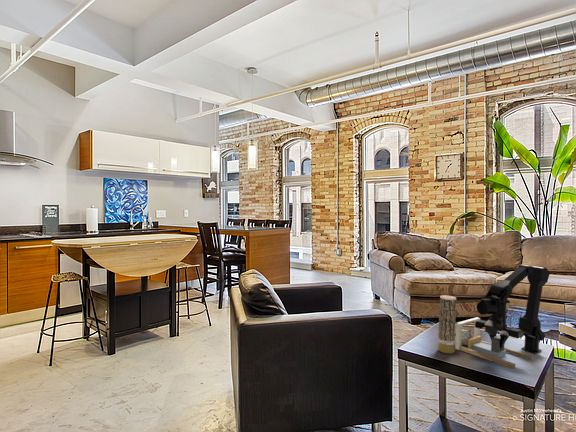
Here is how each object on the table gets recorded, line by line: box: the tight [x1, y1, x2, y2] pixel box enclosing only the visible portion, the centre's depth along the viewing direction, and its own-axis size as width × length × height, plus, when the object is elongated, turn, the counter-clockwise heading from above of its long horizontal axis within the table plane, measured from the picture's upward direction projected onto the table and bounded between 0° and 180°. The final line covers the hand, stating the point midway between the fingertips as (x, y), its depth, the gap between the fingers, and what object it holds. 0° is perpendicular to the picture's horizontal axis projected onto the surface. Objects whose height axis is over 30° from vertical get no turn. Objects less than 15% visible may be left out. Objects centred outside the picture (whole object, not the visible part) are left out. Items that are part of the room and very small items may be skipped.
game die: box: [455, 328, 473, 348], centre depth 180 cm, size 9×8×10 cm
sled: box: [467, 334, 507, 359], centre depth 172 cm, size 10×13×8 cm
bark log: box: [437, 294, 457, 355], centre depth 172 cm, size 7×7×25 cm
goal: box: [454, 316, 481, 351], centre depth 180 cm, size 18×2×12 cm, turn 126°
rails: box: [460, 339, 534, 369], centre depth 169 cm, size 18×23×2 cm
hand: (497, 347), depth 169 cm, fingers open, 2 cm apart
